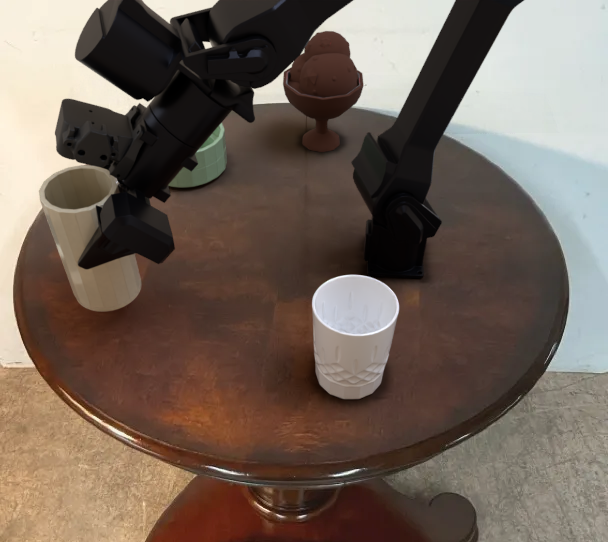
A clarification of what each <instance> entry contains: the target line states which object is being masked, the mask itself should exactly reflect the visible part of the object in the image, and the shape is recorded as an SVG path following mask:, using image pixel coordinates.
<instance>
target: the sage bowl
mask: <svg viewBox="0 0 608 542" xmlns="http://www.w3.org/2000/svg"><path fill="white" fill-rule="evenodd" d="M225 130H226V129H225V127H224V124H223V122H222V123H221V124H220V125H219V126H218V127H217V129H216V130H215V131H214V132H213V133H212V134H211V136H210V137H209V138H208V139H207V140H206V141H205V143H204V144H203V145H202V146H201V147H200V149H199V150H198V151H197V152H196V153H195V155H196V158H197V161H198V165H197V166H196V167H195V168H194V169H193V171H192V172H191V171H190V170H188V169H186V168H185V167H183V168H182V170H181V171H180V172H179V173H178V174H177V175H176V177H175V178H174V179H173V180H172V181H171V182H170V184H169V185H168V187H172V188H194V187H198V186H203V185H205V184H208V183H210V182H212V181H213V180H215V179H217V178H218V177H220V176H221V174H223V173H224V171H225V170H226V166H227V165H228V164H227V163H228V154H227V144H226V143H227V142H226V132H225Z"/></svg>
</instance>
